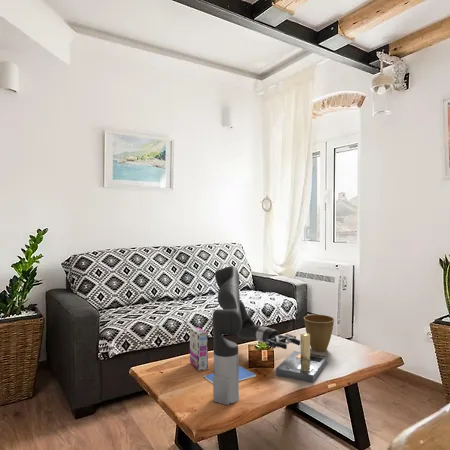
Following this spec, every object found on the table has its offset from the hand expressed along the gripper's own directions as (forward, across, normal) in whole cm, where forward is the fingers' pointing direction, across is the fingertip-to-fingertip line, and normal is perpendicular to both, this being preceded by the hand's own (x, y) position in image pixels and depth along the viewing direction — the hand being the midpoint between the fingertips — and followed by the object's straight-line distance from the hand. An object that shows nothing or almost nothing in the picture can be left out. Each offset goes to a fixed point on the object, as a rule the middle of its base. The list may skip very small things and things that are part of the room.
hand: (293, 344), depth 168 cm
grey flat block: (+2, +4, +11) cm, 12 cm away
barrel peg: (+7, 0, +8) cm, 11 cm away
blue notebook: (-12, -26, +12) cm, 31 cm away
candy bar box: (-30, -30, +11) cm, 44 cm away
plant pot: (-10, +30, +11) cm, 33 cm away
